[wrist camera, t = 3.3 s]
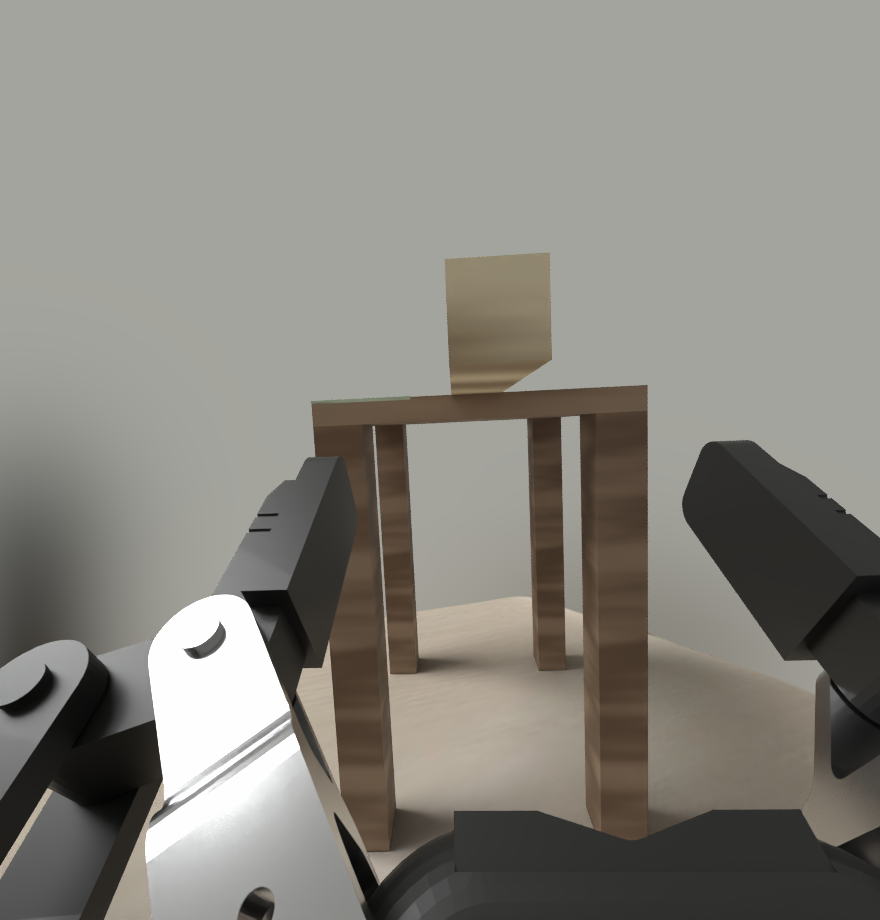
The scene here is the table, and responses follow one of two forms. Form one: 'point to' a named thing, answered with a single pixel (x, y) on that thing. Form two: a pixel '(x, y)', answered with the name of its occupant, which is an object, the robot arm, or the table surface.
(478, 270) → the maple rod
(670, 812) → the table surface
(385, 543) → the walnut stand
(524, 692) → the table surface
